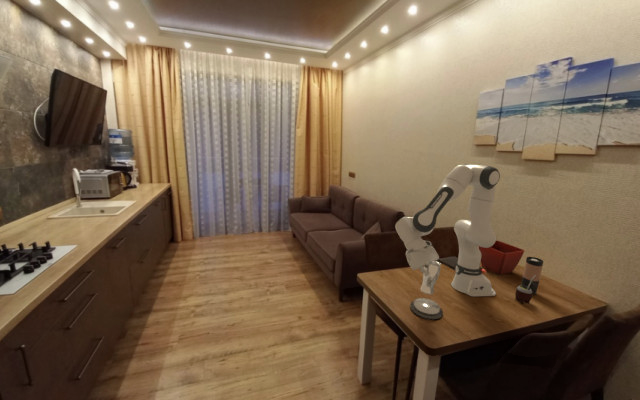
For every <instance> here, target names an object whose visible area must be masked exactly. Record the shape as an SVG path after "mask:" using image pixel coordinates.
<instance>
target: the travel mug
mask: <svg viewBox="0 0 640 400" xmlns="http://www.w3.org/2000/svg"><path fill="white" fill-rule="evenodd" d="M525 259H526V260H525V263H524V268H523V274H522V278H521V282H520V283H521V285H522V286H527V287H528V285H529V283H530V281H531V279H532V278H533V277H534V276H535V275H536V276H535V277H534V278H533V280H532V282H531V284H530V286H529V288H530V289H531V290H532V296H536V295H537V290H538V287H539V284H540V280H541V275H542V271H543V265H544V260H543V259H541V258H539V257H535V256H527V257H526V258H525Z"/></svg>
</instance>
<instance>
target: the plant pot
mask: <svg viewBox="0 0 640 400" xmlns="http://www.w3.org/2000/svg"><path fill="white" fill-rule="evenodd" d="M478 248H479V250H480V252H481V262H480V265H481V268H483V269H485V270H488V271H490V272H492V273H495V274H497V275H500V276H501V275H505V274H510V273H512V272H513V271H514V270H515V269H516V268H517V266H518V265H519V263H520V261H521V260H522V257H523V255H524V253H525V249H522V248H519V247H517V246H514V245H512V244H509V243H506V242H504V241H500V240H497V239H496V241H495V243H494V244H493V245H492V246H491V247H489V248H484V247H480V246H478Z"/></svg>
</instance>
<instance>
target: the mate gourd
mask: <svg viewBox="0 0 640 400" xmlns="http://www.w3.org/2000/svg"><path fill="white" fill-rule="evenodd" d="M535 276H536V275H535ZM535 276H534V277H535ZM534 277H533V278H534ZM533 278H532V279H531V281H530V283H529V285H528V287H527V286H522V285H518V286H517V287H516V289H515V299H514V300H515V301H519V302H520V303H521V304H522V305H523V304H524V303H525V304H530V303H531V302H530V301H531V300H532V298H533V295H532V290H531V289H530V288H529V286H530V284H531V282H532V280H533Z"/></svg>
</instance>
